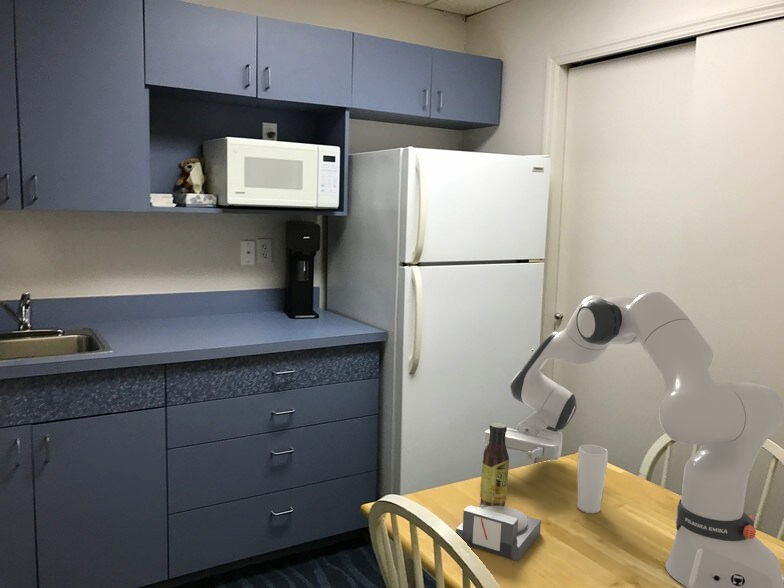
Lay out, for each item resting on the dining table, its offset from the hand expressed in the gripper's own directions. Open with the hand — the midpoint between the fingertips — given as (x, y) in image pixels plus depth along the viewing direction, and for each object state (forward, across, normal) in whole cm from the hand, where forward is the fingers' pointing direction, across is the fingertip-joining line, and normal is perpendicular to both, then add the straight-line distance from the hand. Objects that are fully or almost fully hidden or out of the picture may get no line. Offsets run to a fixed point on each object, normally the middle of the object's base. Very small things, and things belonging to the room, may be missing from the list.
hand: (512, 451), depth 170 cm
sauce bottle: (+11, 0, +10) cm, 15 cm away
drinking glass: (0, +20, +10) cm, 22 cm away
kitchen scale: (+25, +7, +10) cm, 28 cm away
